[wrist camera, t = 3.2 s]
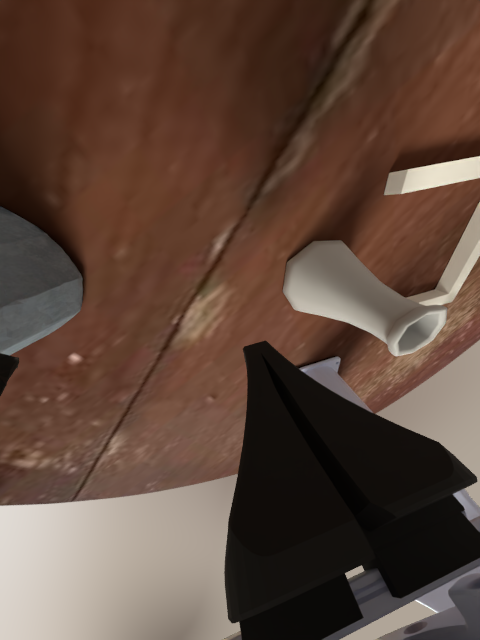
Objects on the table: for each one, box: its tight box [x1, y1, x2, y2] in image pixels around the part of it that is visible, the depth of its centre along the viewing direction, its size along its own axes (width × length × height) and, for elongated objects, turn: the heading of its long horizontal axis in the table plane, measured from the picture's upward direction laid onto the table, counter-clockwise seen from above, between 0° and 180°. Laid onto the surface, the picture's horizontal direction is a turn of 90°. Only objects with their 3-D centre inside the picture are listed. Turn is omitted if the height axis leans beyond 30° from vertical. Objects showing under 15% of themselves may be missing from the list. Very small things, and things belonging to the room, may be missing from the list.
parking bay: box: [384, 156, 480, 306], centre depth 19 cm, size 15×14×2 cm
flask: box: [283, 240, 447, 356], centre depth 14 cm, size 7×7×10 cm
